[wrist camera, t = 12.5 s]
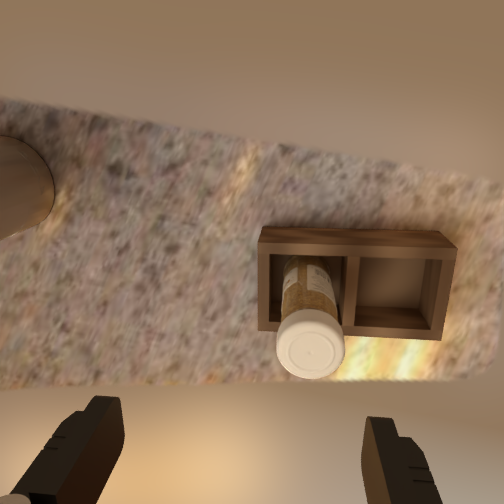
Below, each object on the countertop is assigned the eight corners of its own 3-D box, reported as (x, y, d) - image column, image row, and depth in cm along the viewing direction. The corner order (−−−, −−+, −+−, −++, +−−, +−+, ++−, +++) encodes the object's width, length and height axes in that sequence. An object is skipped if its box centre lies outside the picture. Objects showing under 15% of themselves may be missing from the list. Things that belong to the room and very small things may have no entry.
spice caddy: (262, 306, 41) (257, 330, 37) (262, 226, 38) (257, 242, 34) (425, 314, 40) (441, 340, 35) (438, 231, 37) (457, 248, 32)
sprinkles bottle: (275, 261, 39) (264, 336, 26) (319, 243, 37) (330, 312, 25) (294, 300, 40) (292, 390, 27) (338, 284, 39) (356, 369, 26)
